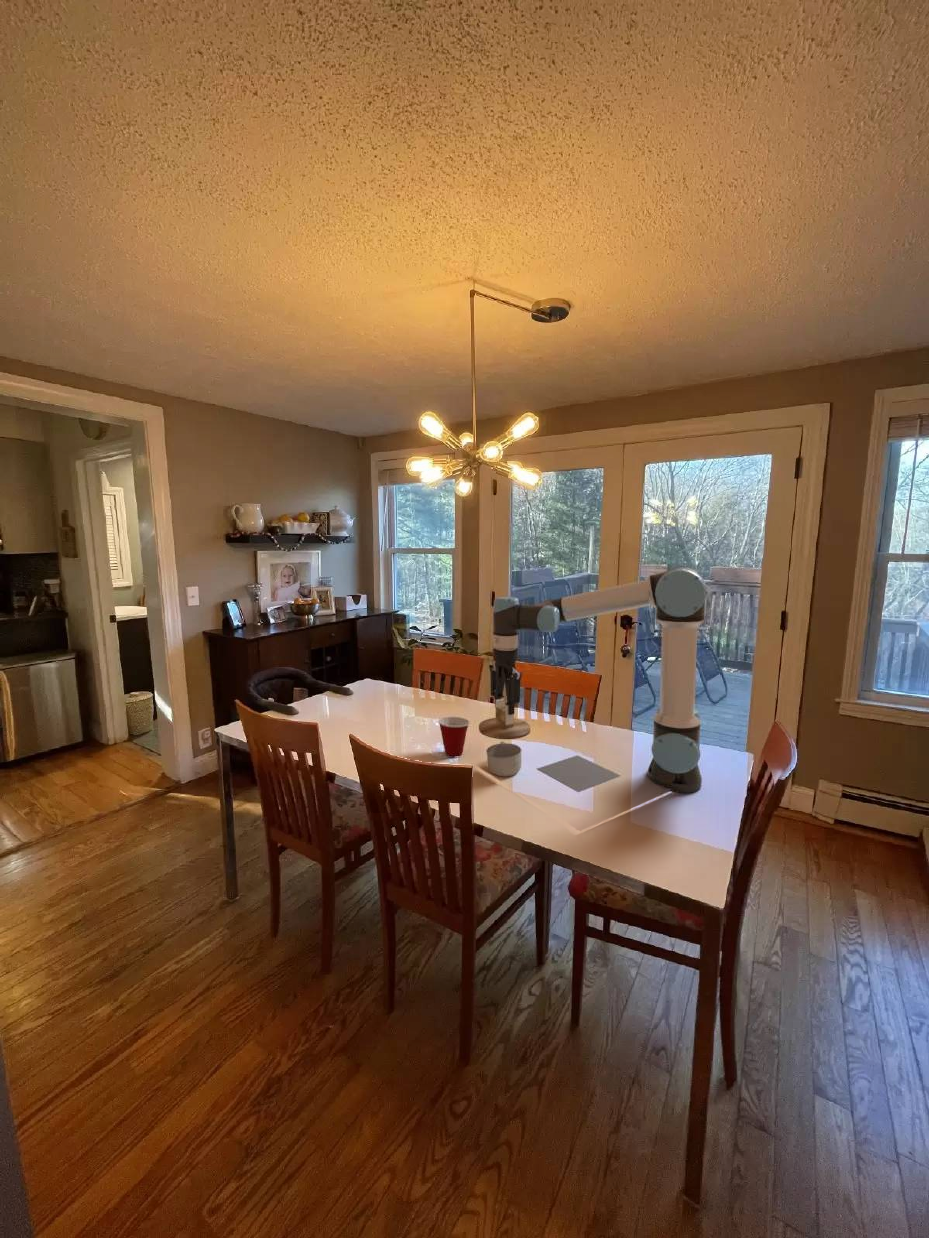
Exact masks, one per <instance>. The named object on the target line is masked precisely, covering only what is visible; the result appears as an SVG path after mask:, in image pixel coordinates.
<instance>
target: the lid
mask: <svg viewBox="0 0 929 1238" xmlns="http://www.w3.org/2000/svg"><path fill="white" fill-rule="evenodd" d="M478 731H479V732H480V734H482V735H483V736H485V737H487V738H492V739H496V740H516V739H521V738H524V737H527V736H528V735H529V734H530V733H531V725H530V724H529V723H528V722H527V721H525V720H522V719H519V718H515V717H514V720H513V724H509V725H505V704H504V706H499V707H496V708H495V717H492V718H491V717H490V718H488V719H485V720H482V721H481V722H480V723H479V724H478Z"/></svg>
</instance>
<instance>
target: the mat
mask: <svg viewBox="0 0 929 1238" xmlns="http://www.w3.org/2000/svg"><path fill="white" fill-rule="evenodd" d="M536 770H538V771H540V772H541V773H543V774H545V775H547V776H549V778H551V779H553V780H556V781H557V782H559V783H561V784H563V785H564V786H566V787H568V788H569V789H572V790H574V791H576V792H577V793H580V792H582V791H585V790H587V789H591V788H592V787H596V786H599V785H601V784H604V783H606V782H608V781H611V780H613V779H616V778H620V777H621V775H620V774H618V773H616V772H614V771H611V770H610V769H608V768H605V767H603V766H601V765H599V764H597V763H594V762H593V761H590V760H589V759H586V758H584V757H582V756H580V755H574V756H570V757H568V758H565V759H562V760H559V761H555V762H552V763H550V764H547V765H543V766H541V767H537V768H536Z"/></svg>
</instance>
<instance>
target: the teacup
mask: <svg viewBox="0 0 929 1238" xmlns="http://www.w3.org/2000/svg"><path fill="white" fill-rule="evenodd" d="M522 752H523V751H522V748H521V746H519V745H517V744H515V743H506V742H505V741H503V740H502V741H500V742H499V743H496V744H492V745H490V746H489V747H488V748H487V749H486V760H487V767H488V770H489V771H490V773H492V774H493V775H495V776H499V777H512V776H514V775H517V774H518V773H519V771H521V768H522Z"/></svg>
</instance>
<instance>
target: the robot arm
mask: <svg viewBox="0 0 929 1238" xmlns="http://www.w3.org/2000/svg"><path fill="white" fill-rule="evenodd" d="M707 593H708V591H707V585H706V583H705V581H704V578H703V577H702V575H701V574H700V572H699V571H697V570H696V569H694V568H692V567H689V566H681V565H680V566H675V567H673V568H670V569H668V570H666V571H663V572H660V573H655V574H651V575H648V576H647V577H646V579H644V580H639V581H633V582H631V583H625V584H620V585H615V586H611V587H606V588H602V589H601V588H600V589H598V590H592V591H588V592H583V593H577V594H573V595H569V596H563V597H560V598H555V599H554V598H552V599H551V598H550V599H546V600H544V601H543V602H540V603H538V604H536V605H532V604H531V605H529V604H527V605H526V604H520V601H519V598H517V597H516V596H514V597H513V596H499V597H496V598H494V600H493V610H492V619H493V621H492V623H493V625H492V628H493V630H492V634H493V635H492V637H493V638H492V644H493V645H492V646H493V649H492V660H493V661H494V664H489V665H488V667H489V673H490V674H489V675H490V676H489V677H490V696H491V697H493V698H494V703H495V704H494V707H495V709H496V707H499V706H504V705H505V725H509V724H513V720H514V718H515V705H517V704H520V702H521V701H520V700H521V681H522V677H523V673H522V671H518V670H517V667H516V662H517V661H518V655H519V650H518V647H519V631H528V632H529V631H530V632H539V633H540V632H541V633H555V632H557V630H558V628H559V625H560V623H565V622H570V621H575V620H581V619H585V618H586V619H587V618H590V617H591V618H592V617H597V616H602V615H607V614H613V613H618V612H623V611H629V610H634V609H640V608H646V607H650V606H651V607H653V608H654V609H655V610H656V613H655V614H656V615H655V618H656V622H658V623H659V624H660V625H661V652H660V655H661V657H660V659H661V662H660V689H659V690H660V694H659V695H660V698H659V701H660V702H659V706H658V708H657V710H656V714H655V715H654V717H653V735H652V736H653V737H652V740H653V742H652V744H651V755H652V759H651V760H650V761H651V762H650V764H649V765H648V769H647V778H648V779H649V780H650V781H651V782H652V783H654V784H655V785H657V786H659V787H661V788H665V789H669V792H672V793H679V794H688V793H689V794H690V793H695V792H697V791H699V790H700V789H701V788H702V782H703V779H702V775H701V771H700V767H699V765H698V764H699V761H700V758H701V750H700V742H701V741H700V740H701V737H700V735H701V718H700V715H701V714H700V712H699V711H698V710H697V709H695V708H696V705H695V703H696V679H697V678H696V677H697V676H696V675H697V672H696V671H697V648H698V646H697V645H698V627H699V626H700V625H701V624H702V623H704V621H705V613H706V612H705V607H706V606H705V605H706V604H705V603H706V598H707ZM504 688H505V695H504ZM505 696H506V702H505V699H504V698H505Z"/></svg>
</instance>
